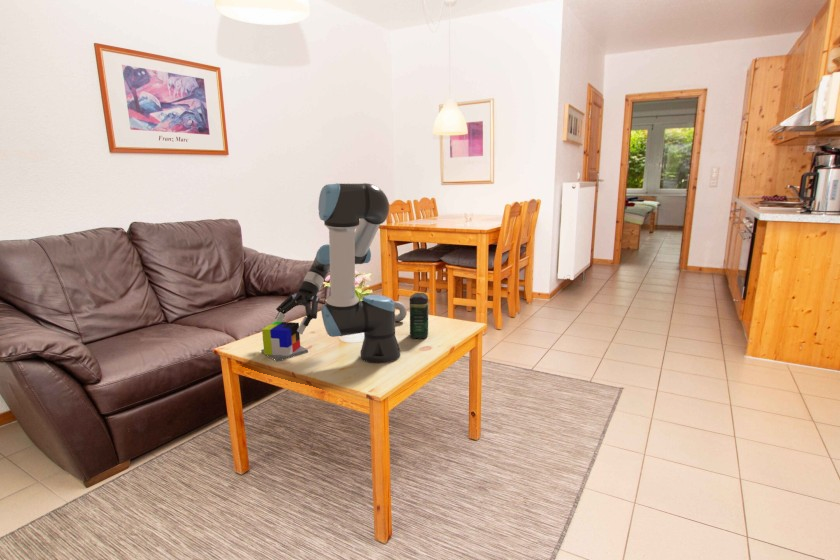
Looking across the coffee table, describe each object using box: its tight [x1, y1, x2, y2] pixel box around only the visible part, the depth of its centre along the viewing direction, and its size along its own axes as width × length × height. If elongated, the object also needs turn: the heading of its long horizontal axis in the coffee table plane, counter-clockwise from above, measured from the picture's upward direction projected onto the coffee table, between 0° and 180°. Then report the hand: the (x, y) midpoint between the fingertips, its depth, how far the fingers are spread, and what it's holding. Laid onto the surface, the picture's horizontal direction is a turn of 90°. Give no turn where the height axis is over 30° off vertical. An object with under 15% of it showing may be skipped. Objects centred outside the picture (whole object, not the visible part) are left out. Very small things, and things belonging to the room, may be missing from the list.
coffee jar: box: [409, 292, 429, 339], centre depth 194 cm, size 10×8×19 cm
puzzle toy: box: [261, 321, 301, 356], centre depth 176 cm, size 10×10×10 cm
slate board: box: [260, 345, 309, 362], centre depth 178 cm, size 13×13×1 cm
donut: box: [393, 300, 408, 322], centre depth 216 cm, size 10×4×10 cm, turn 71°
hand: (286, 330), depth 178 cm, fingers open, 13 cm apart
